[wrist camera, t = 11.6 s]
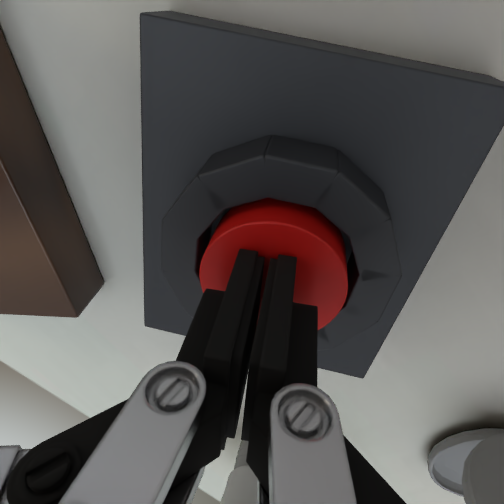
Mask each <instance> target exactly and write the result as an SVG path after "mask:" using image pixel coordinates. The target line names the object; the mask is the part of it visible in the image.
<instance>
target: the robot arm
mask: <svg viewBox="0 0 504 504" xmlns="http://www.w3.org/2000/svg"><path fill="white" fill-rule="evenodd" d="M264 260H265V257H260V256H258V251H253V250H247V249H239V251H238V254H237V257H236V260H235V263H234V266H233V269H232V272H231V275H230V278H229V281H228V284H227V287H226V290H225V291H220V290H214V289H208V288H207V289H206V290H205V291H204V293H203V296H202V298H201V300H200V303H199V305H198V308H197V310H196V313H195V315H194V318H193V320H192V323H191V325H190V327H189V330H188V332H187V335H186V337H185V340H184V342H183V345H182V347H181V349H180V352H179V354H178V357H177V359H176V361H171V362H166V363H163V364H160V365H157V366H156V367H154V368H153V369H151V370H150V371H149V372H148V373H147V374H146V375H145V376H144V377H143V378H142V380H141V381H140V383H139V384H138V386H137V387H136V389H135V390H134V392H133V393H132V395H131V396H130V398H129V399H127V400H125V401H123V402H121V403H119V404H117V405H115V406H113V407H111V408H109V409H107V410H105V411H103V412H101V413H99V414H97V415H95V416H93V417H91V418H90V419H88V420H86V421H84V422H82V423H80V424H78V425H76V426H74V427H72V428H70V429H68V430H66V431H64V432H62V433H60V434H58V435H56V436H54V437H52V438H50V439H48V440H46V441H44V442H42V443H40V444H39V445H37V446H36V447H34V448H32V449H22V448H21V447H20V445H11V446H0V504H191V503H192V500H193V497H194V495H195V493H196V490H197V488H198V486H199V483H200V481H201V478H202V476H203V473H204V469H205V466H206V465H207V464H209V463H210V462H212V461H213V460H215V459H216V458H218V457H219V456H220V452H221V450H224V448H225V443H226V439H227V437H229V438H235V434H236V429H237V424H238V419H239V414H240V409H241V404H242V399H243V394H244V389H245V384H246V379H247V374H248V380H247V390H246V399H245V408H244V417H243V427H242V436H241V440H245V441H249V442H248V449H247V457H246V462H247V464H248V465H249V467H250V468H251V470H252V471H253V473H254V474H255V476H256V477H257V479H258V482H257V504H406V503H405V502H404V501H403V500H402V498H401V497H400V496H399V495H398V494H397V493H396V492H395V491H394V490H393V489H392V488H391V486H390V485H389V484H388V483H387V482H386V481H385V480H384V479H383V478H382V477H381V476H380V475H379V473H378V472H377V471H376V470H375V469H374V468H373V467H372V466H371V465H370V464H369V463H368V461H367V460H366V459H365V458H364V457H363V456H362V455H361V454H360V453H359V452H358V451H357V449H356V448H355V447H354V446H353V445H352V444H351V443H350V442H349V441H348V440H347V439H346V437H345V436H344V435H343V432H342V427H341V422H340V417H339V413H338V411H337V408H336V405H335V404H334V402H333V401H332V399H331V398H330V397H329V396H328V395H327V394H326V393H325V392H323V391H322V390H321V389H319V388H317V345H318V307H317V306H314V305H307V304H301V303H295V302H293V296H294V285H295V275H296V264H297V257H293V256H287V255H280V254H279V255H278V259H273V258H270V263H269V268H268V273H267V278H266V283H265V288H264V293H263V298H262V303H261V308H260V313H259V318H258V312H259V304H260V295H261V287H262V278H263V269H264ZM257 321H258V323H257ZM248 369H249V371H248Z"/></svg>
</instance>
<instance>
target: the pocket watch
mask: <svg viewBox="0 0 504 504" xmlns="http://www.w3.org/2000/svg"><path fill="white" fill-rule="evenodd" d="M427 462H428V470H429V473H430V476H431V478H432V479H433V481H434V482H435V483H436V484H437V485H439V486H440V487H442V488H443V489H445V490H447V491H450V492H452V493H454V494H457V495H459V496H463V497H464V500H465V502H466V504H504V429H496V428H484V429H477V430H470V431H464V432H461V433H458V434H455V435H452V436H449V437H447V438H445V439H444V440H442V441H441V442H439V443H438V444H436V445H435V446H434V447H433V449H432V450H431V452H430V454H429V455H428V460H427Z"/></svg>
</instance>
